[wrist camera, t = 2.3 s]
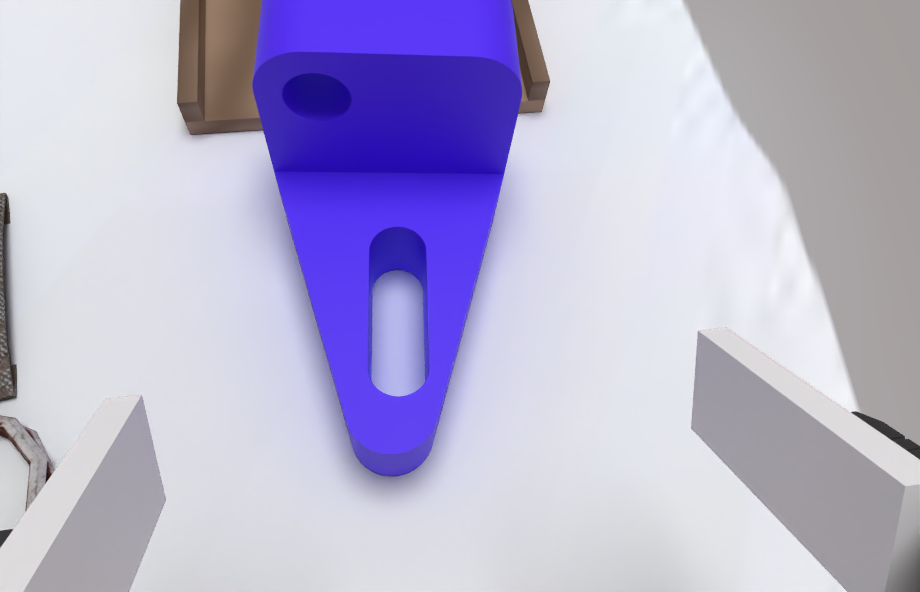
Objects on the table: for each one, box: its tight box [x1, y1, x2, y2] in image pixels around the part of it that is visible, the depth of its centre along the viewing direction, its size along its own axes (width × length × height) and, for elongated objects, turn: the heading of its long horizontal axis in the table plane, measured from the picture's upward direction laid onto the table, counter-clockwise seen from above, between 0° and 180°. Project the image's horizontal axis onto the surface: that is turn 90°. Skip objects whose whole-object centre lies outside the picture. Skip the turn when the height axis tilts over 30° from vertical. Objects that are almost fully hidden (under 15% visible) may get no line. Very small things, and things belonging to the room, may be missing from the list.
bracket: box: [252, 0, 522, 476], centre depth 29 cm, size 18×11×12 cm, turn 3°
